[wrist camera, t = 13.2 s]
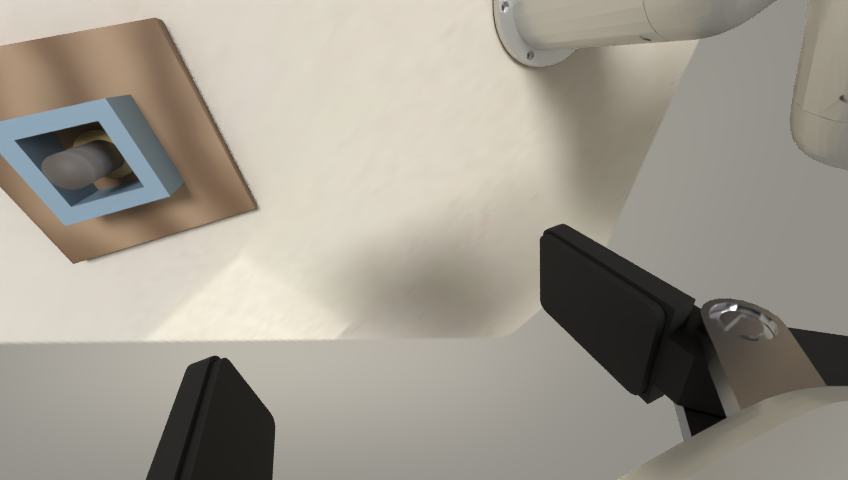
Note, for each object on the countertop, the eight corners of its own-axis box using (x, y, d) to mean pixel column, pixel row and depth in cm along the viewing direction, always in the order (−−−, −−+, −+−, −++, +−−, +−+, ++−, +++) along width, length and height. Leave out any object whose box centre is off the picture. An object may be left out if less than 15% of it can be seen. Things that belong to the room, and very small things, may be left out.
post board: (162, 20, 25) (117, 4, 19) (256, 203, 33) (247, 234, 27) (-90, 66, 22) (-243, 66, 16) (82, 255, 30) (26, 304, 24)
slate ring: (130, 94, 25) (105, 98, 22) (184, 181, 29) (170, 196, 26) (20, 118, 24) (-24, 126, 21) (92, 207, 28) (65, 226, 24)
